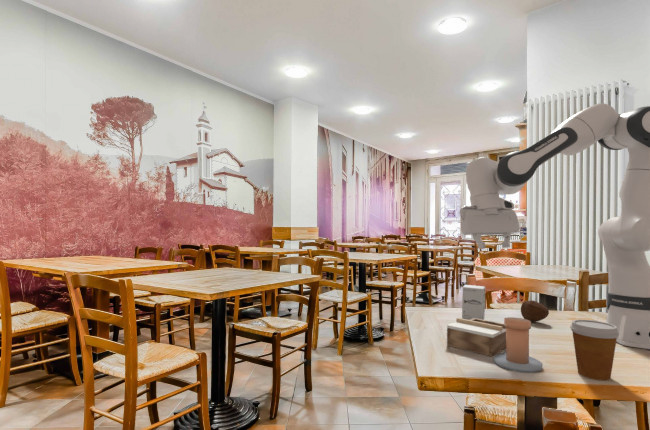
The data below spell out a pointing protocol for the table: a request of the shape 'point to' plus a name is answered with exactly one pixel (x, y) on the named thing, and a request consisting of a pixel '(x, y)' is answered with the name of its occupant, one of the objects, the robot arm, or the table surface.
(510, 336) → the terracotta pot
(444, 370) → the table surface
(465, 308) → the supplement box
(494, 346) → the wooden box
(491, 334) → the lid panel
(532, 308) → the potato
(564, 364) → the table surface
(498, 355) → the saucer
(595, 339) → the disposable coffee cup
